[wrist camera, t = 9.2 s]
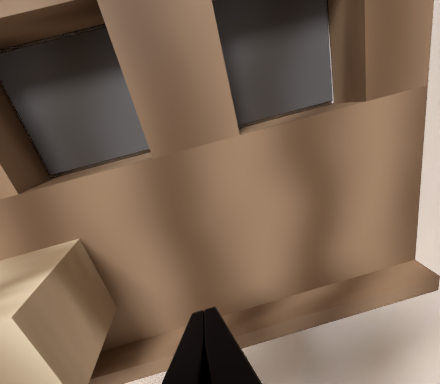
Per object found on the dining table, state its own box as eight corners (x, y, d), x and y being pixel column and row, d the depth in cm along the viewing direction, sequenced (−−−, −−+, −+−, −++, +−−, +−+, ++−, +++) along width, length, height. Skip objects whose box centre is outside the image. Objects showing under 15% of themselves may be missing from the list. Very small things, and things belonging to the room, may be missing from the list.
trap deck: (387, -135, 10) (605, -406, 5) (382, 250, 17) (467, 311, 12) (-189, -1, 9) (-689, -149, 4) (58, 344, 16) (-5, 454, 11)
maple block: (79, 238, 11) (11, 317, 7) (116, 307, 13) (80, 406, 8) (-14, 264, 11) (-144, 361, 7) (35, 330, 12) (-44, 443, 8)
